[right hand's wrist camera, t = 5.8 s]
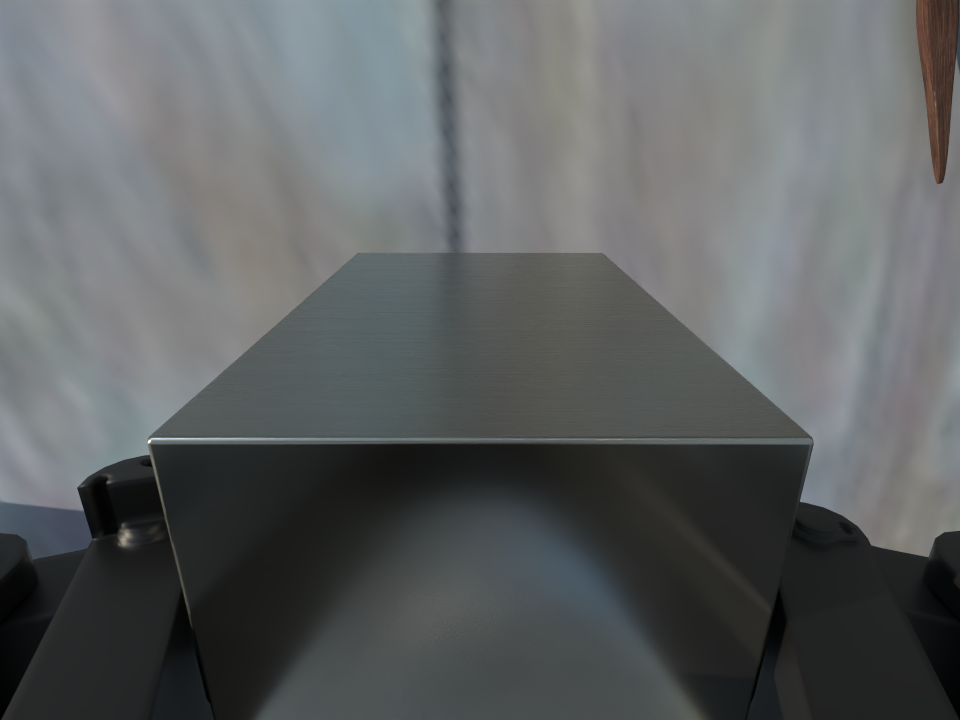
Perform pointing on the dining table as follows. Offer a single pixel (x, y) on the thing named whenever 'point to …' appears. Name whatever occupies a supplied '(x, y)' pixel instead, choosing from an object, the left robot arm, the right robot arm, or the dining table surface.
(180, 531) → the bar
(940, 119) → the fork
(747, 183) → the dining table surface
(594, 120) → the dining table surface
